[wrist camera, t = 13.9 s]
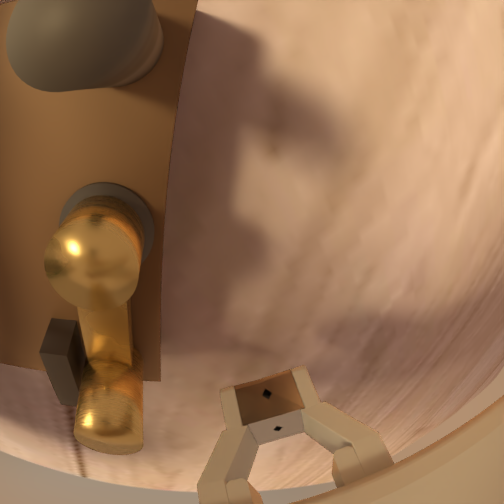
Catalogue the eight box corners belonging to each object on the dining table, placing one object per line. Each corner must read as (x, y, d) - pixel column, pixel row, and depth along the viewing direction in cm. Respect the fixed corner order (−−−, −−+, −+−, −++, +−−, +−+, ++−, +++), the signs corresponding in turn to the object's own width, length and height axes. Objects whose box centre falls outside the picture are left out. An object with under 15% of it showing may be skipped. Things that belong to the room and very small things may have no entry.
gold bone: (62, 193, 8) (6, 262, 5) (146, 197, 9) (129, 272, 6) (89, 374, 12) (80, 450, 9) (146, 378, 13) (148, 456, 10)
